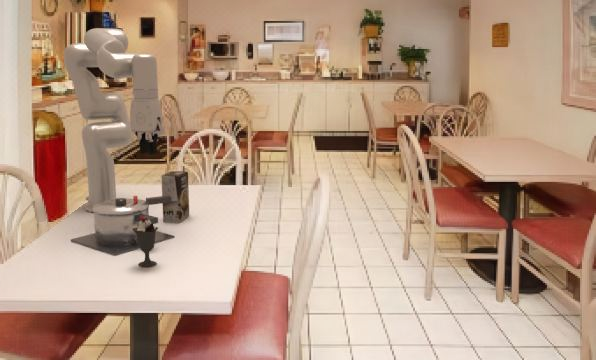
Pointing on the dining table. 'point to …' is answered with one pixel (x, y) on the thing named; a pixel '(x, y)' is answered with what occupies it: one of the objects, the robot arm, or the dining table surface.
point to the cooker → (117, 233)
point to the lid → (128, 205)
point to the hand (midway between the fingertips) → (148, 152)
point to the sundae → (145, 239)
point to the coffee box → (175, 196)
